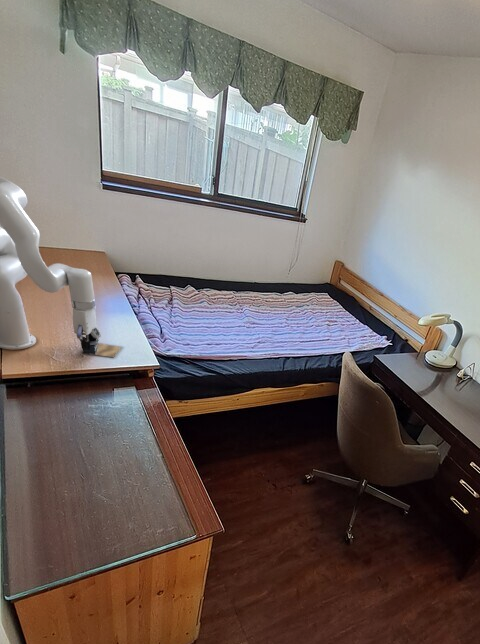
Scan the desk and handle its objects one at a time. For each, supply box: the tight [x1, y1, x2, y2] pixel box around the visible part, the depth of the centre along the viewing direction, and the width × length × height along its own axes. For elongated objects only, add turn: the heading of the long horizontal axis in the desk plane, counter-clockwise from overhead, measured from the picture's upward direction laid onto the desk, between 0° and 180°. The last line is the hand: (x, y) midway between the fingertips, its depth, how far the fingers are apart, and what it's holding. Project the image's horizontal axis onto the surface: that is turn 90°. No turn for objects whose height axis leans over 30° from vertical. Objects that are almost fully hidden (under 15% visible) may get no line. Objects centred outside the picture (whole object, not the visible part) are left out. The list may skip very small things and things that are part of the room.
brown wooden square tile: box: [90, 342, 122, 359], centre depth 157 cm, size 10×9×1 cm
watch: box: [76, 326, 101, 355], centre depth 151 cm, size 6×8×11 cm
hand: (89, 345), depth 152 cm, fingers closed on watch, 4 cm apart
